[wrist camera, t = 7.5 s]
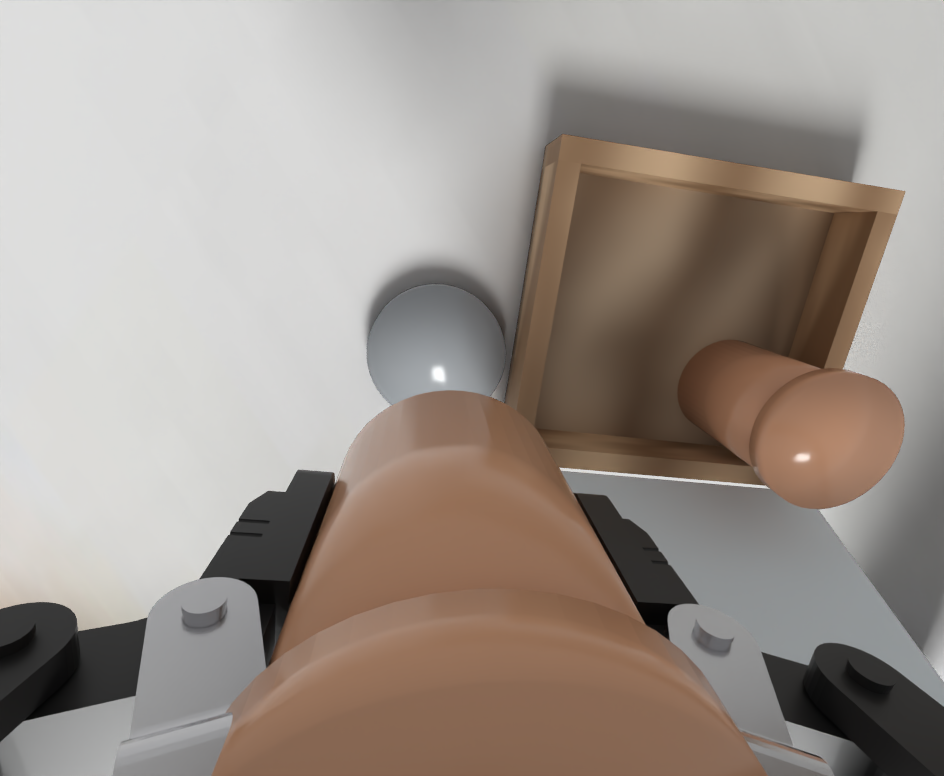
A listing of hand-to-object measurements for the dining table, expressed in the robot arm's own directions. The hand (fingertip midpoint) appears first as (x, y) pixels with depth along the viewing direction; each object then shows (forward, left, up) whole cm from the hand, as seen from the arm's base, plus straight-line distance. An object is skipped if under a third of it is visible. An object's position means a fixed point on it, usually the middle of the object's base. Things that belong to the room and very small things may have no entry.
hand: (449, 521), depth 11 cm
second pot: (-16, 0, -16) cm, 22 cm away
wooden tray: (-12, -3, -16) cm, 20 cm away
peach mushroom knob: (0, 0, -1) cm, 1 cm away
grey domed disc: (0, 0, -16) cm, 16 cm away
